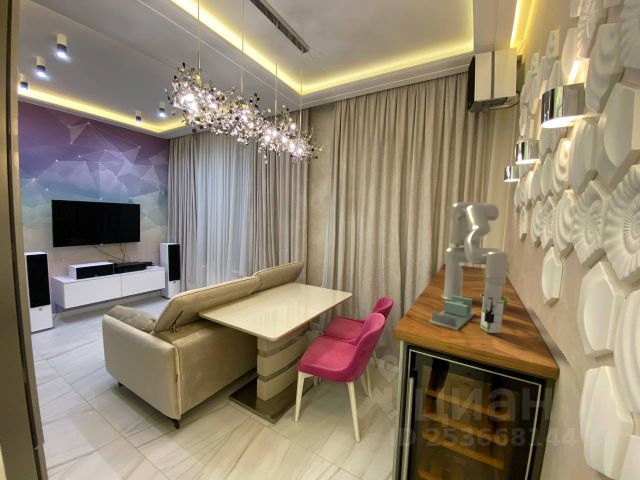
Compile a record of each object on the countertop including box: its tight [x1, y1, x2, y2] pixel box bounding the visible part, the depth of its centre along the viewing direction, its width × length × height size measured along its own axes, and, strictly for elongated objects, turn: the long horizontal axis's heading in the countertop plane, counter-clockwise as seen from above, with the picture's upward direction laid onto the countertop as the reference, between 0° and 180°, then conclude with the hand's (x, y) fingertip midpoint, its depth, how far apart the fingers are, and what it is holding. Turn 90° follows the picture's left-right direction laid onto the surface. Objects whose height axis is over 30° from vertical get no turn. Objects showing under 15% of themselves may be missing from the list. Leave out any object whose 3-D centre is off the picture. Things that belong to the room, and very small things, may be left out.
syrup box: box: [480, 296, 504, 334], centre depth 114 cm, size 6×6×14 cm
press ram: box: [443, 295, 473, 317], centre depth 135 cm, size 12×10×6 cm
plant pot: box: [479, 292, 510, 318], centre depth 129 cm, size 12×12×11 cm
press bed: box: [429, 309, 476, 331], centre depth 130 cm, size 28×12×4 cm, turn 136°
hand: (491, 319), depth 115 cm, fingers closed on syrup box, 8 cm apart
